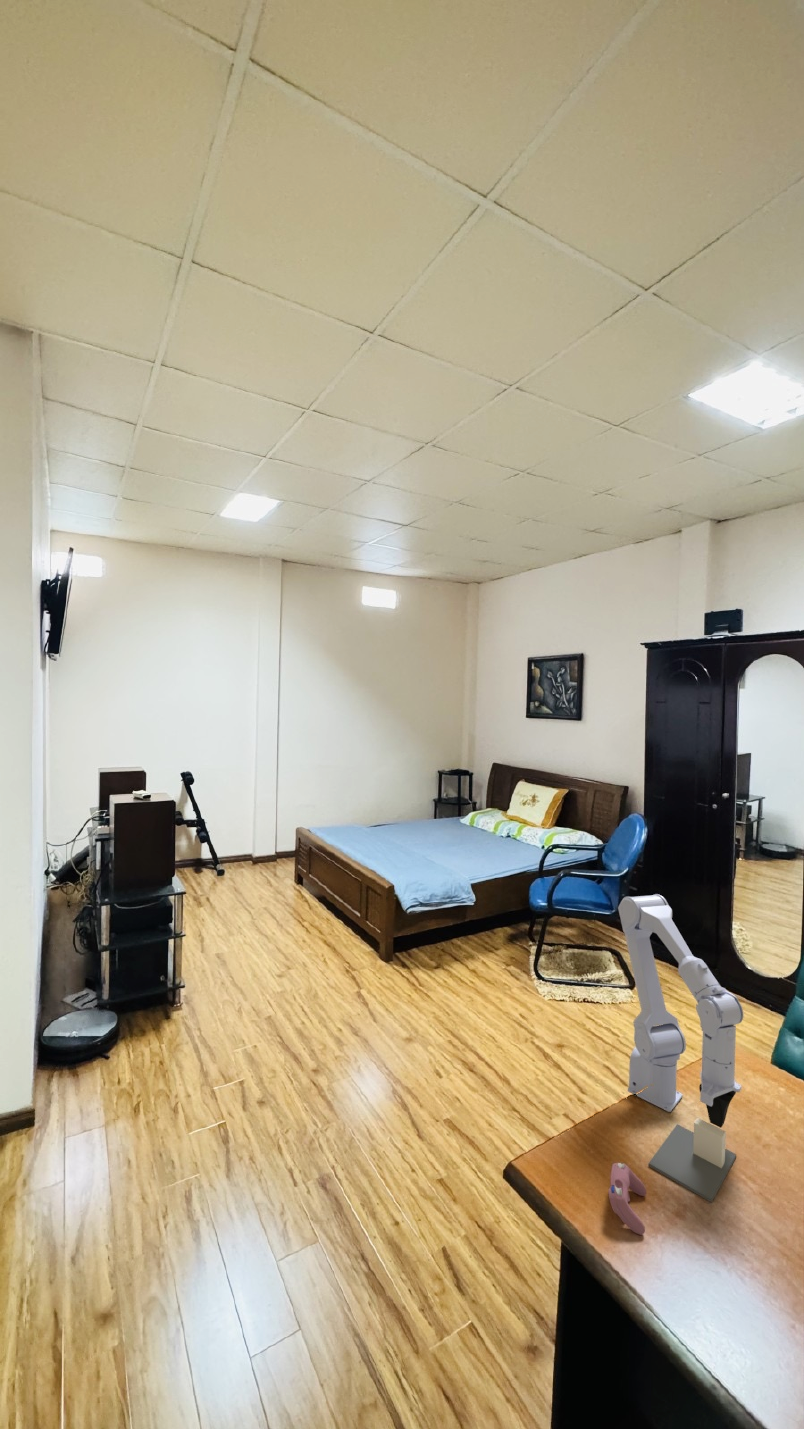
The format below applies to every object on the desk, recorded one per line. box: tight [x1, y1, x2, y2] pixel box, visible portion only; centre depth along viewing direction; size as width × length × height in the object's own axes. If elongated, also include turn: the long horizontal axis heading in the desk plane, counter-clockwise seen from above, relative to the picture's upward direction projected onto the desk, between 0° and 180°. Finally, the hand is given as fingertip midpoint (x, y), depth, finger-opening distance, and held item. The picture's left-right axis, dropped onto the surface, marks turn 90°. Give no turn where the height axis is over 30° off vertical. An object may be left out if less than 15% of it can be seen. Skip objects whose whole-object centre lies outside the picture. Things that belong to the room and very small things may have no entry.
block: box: [693, 1117, 726, 1168], centre depth 109 cm, size 5×2×6 cm, turn 45°
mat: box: [648, 1123, 737, 1203], centre depth 108 cm, size 11×15×1 cm
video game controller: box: [608, 1162, 648, 1236], centre depth 98 cm, size 10×5×7 cm, turn 155°
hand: (716, 1123), depth 112 cm, fingers closed
